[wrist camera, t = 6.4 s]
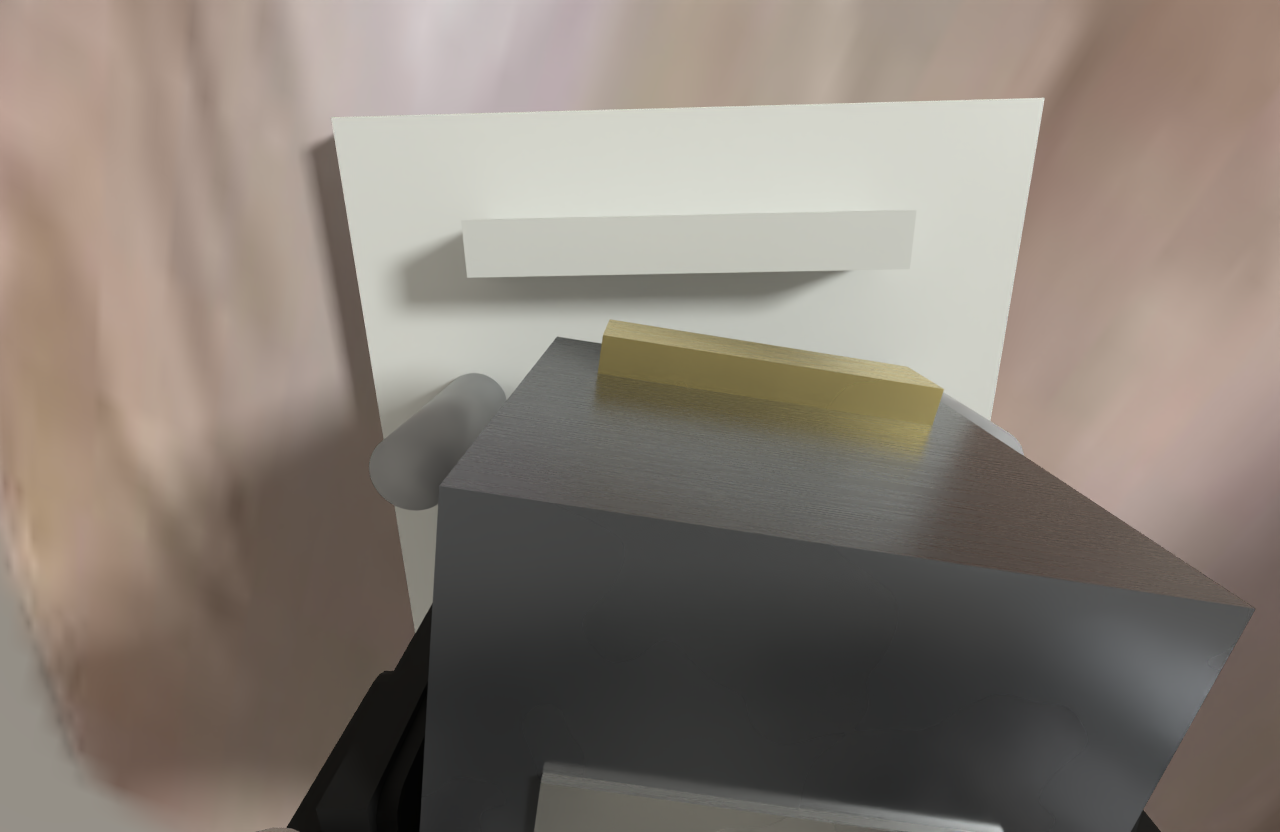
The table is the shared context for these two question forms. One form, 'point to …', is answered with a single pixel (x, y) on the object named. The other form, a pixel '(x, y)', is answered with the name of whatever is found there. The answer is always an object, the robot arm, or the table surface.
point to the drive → (790, 610)
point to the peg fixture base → (671, 252)
